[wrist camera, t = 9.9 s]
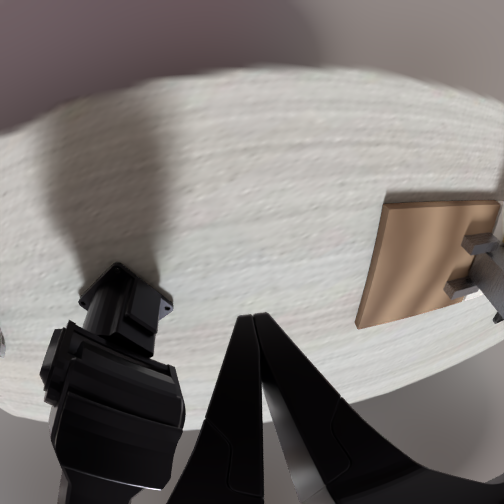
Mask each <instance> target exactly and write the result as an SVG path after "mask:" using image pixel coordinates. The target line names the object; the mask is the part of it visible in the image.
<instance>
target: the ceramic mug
mask: <svg viewBox="0 0 504 504" xmlns="http://www.w3.org/2000/svg"><path fill="white" fill-rule="evenodd" d="M5 349H6V346H5V345H4V344H2V335H1V329H0V357H4V356H5Z"/></svg>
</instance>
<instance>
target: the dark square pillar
mask: <svg viewBox="0 0 504 504" xmlns="http://www.w3.org/2000/svg"><path fill="white" fill-rule="evenodd" d="M468 276H469V277H470V279H471V280H472V281H473V282H474V283H475V284H476V285H477V287H478V288H479V289H480V290H481V291H482V293H483V294H484V295H485V296H486V297H487V299H488V300H489V301H490V302H491V304H492V305H493V306H494V307H495V309H496V310H497V311H498V312H499V314H500V315H501V316H502V318H503V319H504V246H500V245H498V248H497V250H495V251H491V252H486V253H481V254H477V255H476V257H475V260H474V262H473V265H472V267H471V269H470V272H469V274H468Z"/></svg>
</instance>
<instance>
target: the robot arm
mask: <svg viewBox="0 0 504 504" xmlns="http://www.w3.org/2000/svg"><path fill="white" fill-rule="evenodd" d="M116 268H118V269H119V270H117V269H116ZM78 302H79V305H80V306H81V307H83V308H84V309H86V310H87V311H88V312H87V315H86V318H85V321H84V324H83V328H81V327H79V326H77V325H75V324H76V323H74V322H72V321H70V320H69V321H68V324H67V326H66V328H64V327H63V328H62V329H55V330H54V333H53V335H52V338H51V341H50V344H49V347H48V349H47V352H46V355H45V358H44V361H43V364H42V367H41V371H40V377H41V379H42V381H43V383H44V391H45V397H44V402H46V403H48V404H50V405H52V408H51V412H50V417H49V428H50V437H51V442H52V445H53V448H54V450H55V453H56V456H57V458H58V461H59V463H60V466H61V468H62V475H61V481H60V488H59V495H58V502H57V504H131V500H132V499H133V498H134V497H135V496H137V495H138V494H139V493H140V492H141V491H143V490H144V489H145V488H148V489H155V490H162V489H163V488H164V487H165V485H166V484H167V483H168V481H169V480H170V478H171V470H172V463H173V457H174V453H175V449H176V446H177V443H178V441H179V439H180V437H181V435H182V432H183V430H182V429H183V426H184V422H185V415H186V412H185V403H184V400H183V396H182V393H181V389H180V385H179V381H178V377H177V373H176V369H175V367H174V366H171V365H165V364H163V363H160V362H157V361H155V360H152V359H150V358H151V357H152V356H153V355H154V346H155V336H156V333H157V331H158V321H159V320H160V319H162V318H163V317H165V316H166V315H168V314H169V313H170V312H172V311H173V303H172V302H170V301H169V300H168V299H166V298H165V297H164V296H162V295H161V294H160V293H158V292H157V291H156V290H154V289H153V288H152V287H151V286H149V285H148V284H147V283H145V282H144V281H143V280H141V279H140V278H139V277H137V276H136V275H135V274H134V273H132V272H131V271H130V270H128V269H127V268H126V267H125V266H123V265H122V264H121V263H118V262H117V263H114V264H113V265H112V266H111V267H110V268H109V269H108V270H107V271H106V272H105V273H104V274H103V275H102V276H101V277H100V278H99V279H98V280H97V281H96V282H95V283H94V284H93V285H92V286H91V287H90V288H89V289H88V290H87V291H86V292H85V293H84V294H83V295H82V296H81V297H80V299H79V301H78ZM166 306H168V307H166ZM262 387H263V391H264V394H265V397H266V401H267V404H268V407H269V410H270V413H271V417H272V420H273V423H274V426H275V429H276V432H277V435H278V439H279V442H280V445H281V448H282V451H283V454H284V457H285V460H286V463H287V466H288V469H289V472H290V475H291V478H292V481H293V484H294V487H295V490H296V493H297V495H298V499H299V502H300V504H504V473H503V474H502V475H500V476H498V477H496V478H494V479H492V480H490V481H488V482H486V483H482V482H477V481H473V480H469V479H465V478H461V477H457V476H453V475H449V474H446V473H442V472H439V471H435V470H432V469H429V468H427V467H425V466H423V465H421V464H419V463H417V462H415V461H414V460H412V459H411V458H410V457H408V456H407V455H406V454H404V453H403V452H402V451H401V450H400V449H398V448H397V447H396V446H394V445H393V444H392V443H391V442H389V441H388V440H387V439H386V438H384V437H383V436H382V435H381V434H380V433H378V432H377V431H376V430H375V429H374V428H373V427H371V426H370V425H369V424H368V423H367V422H366V421H365V420H364V419H363V418H362V417H360V415H359V414H358V413H357V412H356V411H355V410H354V409H353V408H352V407H351V406H350V405H349V404H348V403H347V402H346V401H345V399H344V398H343V397H341V395H340V394H339V393H338V392H337V391H336V390H335V389H334V387H333V386H332V385H331V384H330V383H329V382H328V381H327V380H326V378H325V377H324V376H323V375H322V374H321V373H320V372H319V371H318V370H317V368H316V367H315V366H314V365H313V364H312V363H311V362H310V360H309V359H308V358H307V357H306V356H305V355H304V354H303V353H302V351H301V350H300V349H299V348H298V347H297V346H296V345H295V343H294V342H293V341H292V340H291V339H290V338H289V336H288V335H287V334H286V333H285V332H284V331H283V330H282V328H281V327H280V326H279V325H278V324H277V323H276V321H275V320H274V319H273V318H272V317H271V316H270V314H269V313H267V312H264V313H256V314H254V315H253V316H252V315H251V314H248V315H240V316H238V317H237V320H236V323H235V326H234V329H233V332H232V335H231V339H230V342H229V345H228V348H227V351H226V354H225V357H224V360H223V363H222V366H221V370H220V373H219V376H218V379H217V382H216V385H215V388H214V391H213V394H212V397H211V400H210V403H209V406H208V410H207V413H206V416H205V418H206V419H205V420H204V421H203V424H202V427H201V430H200V433H199V436H198V439H197V441H196V444H195V447H194V449H193V451H192V454H191V456H190V458H189V460H188V462H187V465H186V467H185V469H184V471H183V473H182V474H181V476H180V479H179V480H178V482H177V484H176V486H175V488H174V490H173V492H172V494H171V496H170V497H169V499H168V502H167V503H166V504H264V471H263V470H264V469H263V468H264V467H263V421H262ZM340 397H341V398H340Z"/></svg>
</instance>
